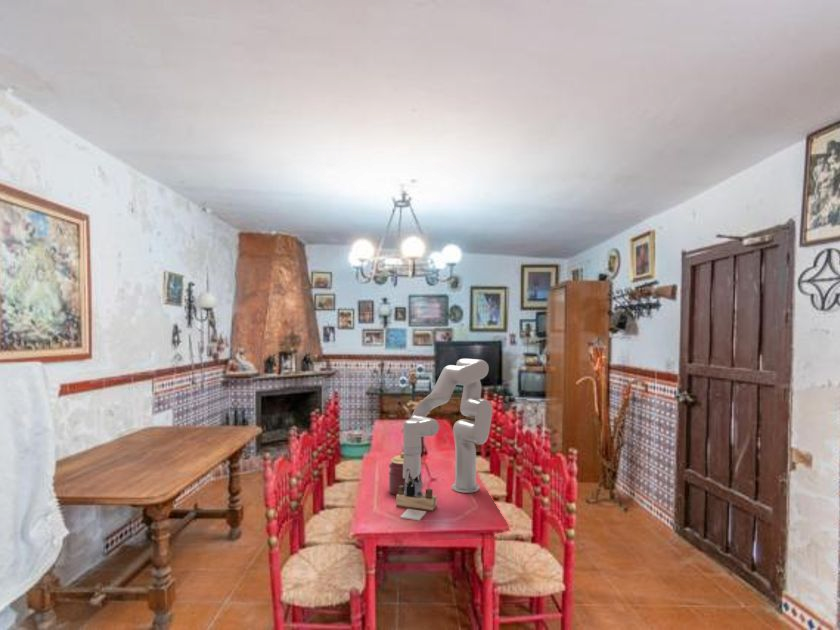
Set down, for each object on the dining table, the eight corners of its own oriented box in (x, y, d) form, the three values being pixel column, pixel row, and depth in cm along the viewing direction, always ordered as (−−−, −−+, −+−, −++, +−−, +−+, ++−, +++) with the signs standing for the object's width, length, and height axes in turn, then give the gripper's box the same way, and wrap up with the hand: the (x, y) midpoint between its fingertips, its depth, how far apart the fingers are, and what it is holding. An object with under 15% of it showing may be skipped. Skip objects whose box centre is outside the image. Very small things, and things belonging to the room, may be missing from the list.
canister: (413, 497, 205) (413, 457, 205) (385, 495, 207) (385, 455, 208) (419, 487, 217) (419, 449, 218) (392, 485, 220) (392, 447, 220)
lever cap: (409, 491, 199) (408, 477, 199) (421, 492, 197) (420, 478, 197) (404, 495, 194) (404, 481, 194) (417, 496, 192) (416, 482, 192)
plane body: (401, 501, 200) (401, 483, 200) (436, 506, 194) (436, 488, 195) (396, 506, 195) (396, 488, 195) (432, 511, 189) (432, 492, 189)
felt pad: (407, 510, 191) (407, 508, 191) (426, 512, 188) (426, 511, 188) (400, 517, 183) (400, 516, 183) (419, 520, 180) (419, 519, 180)
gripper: (411, 444, 205) (411, 485, 205) (396, 454, 189) (396, 499, 189) (427, 445, 203) (428, 487, 202) (413, 456, 187) (414, 501, 186)
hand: (412, 492), depth 196 cm, fingers closed on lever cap, 5 cm apart
